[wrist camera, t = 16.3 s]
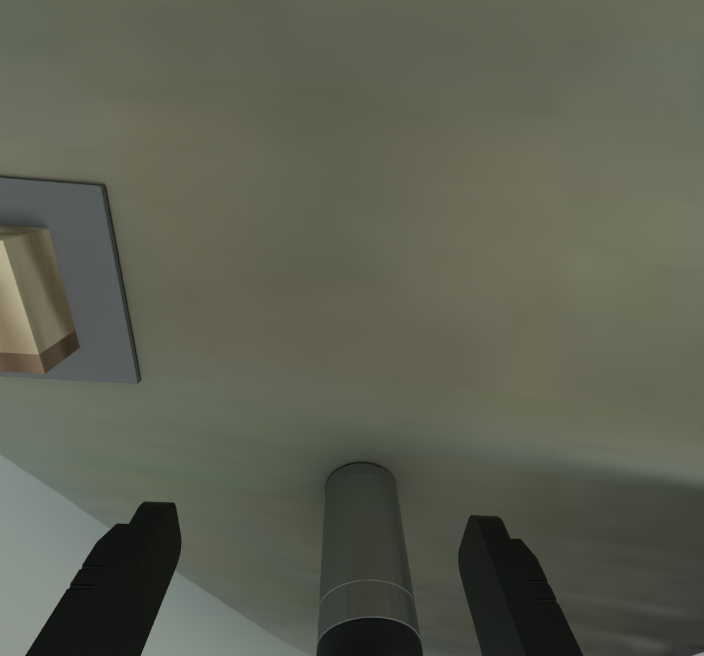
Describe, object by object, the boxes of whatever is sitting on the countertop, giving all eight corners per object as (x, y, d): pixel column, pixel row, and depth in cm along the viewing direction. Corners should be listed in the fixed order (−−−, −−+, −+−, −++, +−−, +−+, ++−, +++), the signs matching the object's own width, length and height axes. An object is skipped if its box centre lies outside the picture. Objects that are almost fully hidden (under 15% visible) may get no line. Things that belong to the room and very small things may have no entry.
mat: (140, 380, 41) (137, 383, 40) (-4, 372, 40) (-9, 375, 40) (104, 185, 33) (100, 186, 32) (-80, 170, 32) (-87, 170, 31)
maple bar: (48, 228, 33) (2, 240, 29) (80, 347, 38) (45, 373, 34) (-5, 224, 33) (-59, 236, 29) (34, 345, 38) (-8, 371, 34)
